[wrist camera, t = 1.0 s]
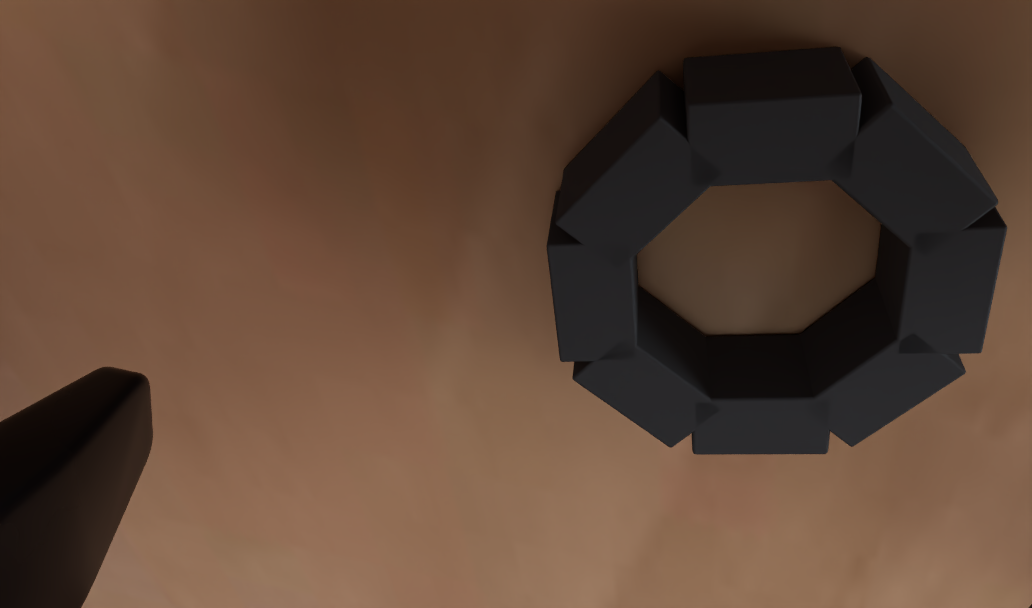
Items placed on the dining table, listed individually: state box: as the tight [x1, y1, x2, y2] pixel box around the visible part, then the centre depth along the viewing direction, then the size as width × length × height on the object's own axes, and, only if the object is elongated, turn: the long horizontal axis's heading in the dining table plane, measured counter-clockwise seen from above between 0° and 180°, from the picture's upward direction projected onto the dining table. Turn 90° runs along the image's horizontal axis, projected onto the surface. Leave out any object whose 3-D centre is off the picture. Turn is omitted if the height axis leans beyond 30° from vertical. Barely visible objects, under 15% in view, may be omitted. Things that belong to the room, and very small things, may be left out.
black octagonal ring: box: [547, 47, 1007, 454], centre depth 21 cm, size 9×9×2 cm
